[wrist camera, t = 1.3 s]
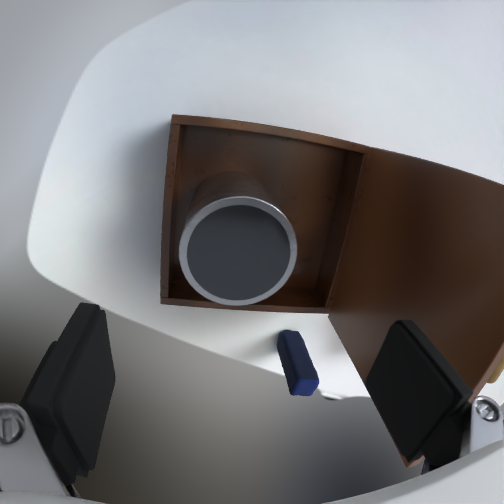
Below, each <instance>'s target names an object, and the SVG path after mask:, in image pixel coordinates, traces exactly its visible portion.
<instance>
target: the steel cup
mask: <svg viewBox="0 0 504 504" xmlns="http://www.w3.org/2000/svg"><path fill="white" fill-rule="evenodd" d="M297 253H298V245H297V238H296V235H295V231H294V229H293V227H292V225H291V223H290V222H289V220H288V219H287V217H286V216H285V215H284V213H283V212H282V211H281V209H280V208H279V207H278V205H277V204H276V203H275V202H274V200H273V199H272V198H271V196H270V195H269V194H268V192H267V191H266V190H265V189H264V187H263V186H262V185H261V184H260V183H259V182H258V181H257V180H256V179H254V178H253V177H251V176H249V175H247V174H244V173H241V172H234V171H228V172H222V173H218V174H215V175H213V176H211V177H209V178H208V179H206V180H205V181H204V182H203V183H202V184H201V185H200V186H199V187H198V188H197V190H196V191H195V193H194V195H193V197H192V200H191V204H190V207H189V211H188V214H187V218H186V222H185V225H184V229H183V233H182V237H181V240H180V246H179V259H180V265H181V268H182V271H183V273H184V275H185V277H186V279H187V281H188V282H189V284H190V285H191V286H192V287H193V288H194V289H195V290H196V291H197V292H198V293H199V294H201V295H202V296H204V297H205V298H207V299H209V300H211V301H214V302H217V303H220V304H224V305H231V306H241V305H249V304H253V303H256V302H259V301H262V300H264V299H266V298H268V297H269V296H271V295H273V294H274V293H275V292H277V291H278V290H279V289H280V288H281V287H282V286H283V285H284V284H285V283H286V281H287V280H288V279H289V277H290V275H291V274H292V271H293V269H294V267H295V263H296V260H297Z"/></svg>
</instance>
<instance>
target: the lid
mask: <svg viewBox="0 0 504 504" xmlns="http://www.w3.org/2000/svg"><path fill="white" fill-rule="evenodd" d="M328 318H329V320H330V322H331V324H332V325H333V327H334V329H335V331H336V333H337V335H338V336H339V338H340V340H341V342H342V344H343V346H344V347H345V349H346V351H347V353H348V355H349V357H350V358H351V360H352V362H353V364H354V366H355V368H356V370H357V372H358V373H359V375H360V377H361V379H362V381H363V383H364V385H365V381H366V378H367V376H368V374H369V372H370V370H371V368H372V366H373V363H374V361H375V359H376V357H377V355H378V353H379V351H380V349H381V346H382V344H383V342H384V340H385V337H386V335H387V333H388V330H389V328H390V326H391V325H392V324H394V322H395V321H396V320H408V319H409V320H412V321H413V322H414V323H415V324H416V325H417V326H418V327H419V328H420V329H421V330H422V332H423V333H424V334H425V335H426V336H427V337H428V338H429V340H430V341H431V342H432V343H433V344H434V345H435V347H436V348H437V349H438V350H439V351H440V352H441V354H442V355H443V356H444V357H445V358H446V359H447V361H448V362H449V363H450V364H451V365H452V367H453V368H454V369H455V370H456V371H457V373H458V374H459V375H460V376H461V378H462V379H463V380H464V381H465V382H466V384H467V385H468V386H469V387H470V389H471V390H472V391H473V395H472V396H471V397H470V399H469V400H468V401H469V402H470V403H471V402H472V401H473V399H474V398H475V397H476V396H477V395H478V394H479V392H480V391H481V390H482V388H483V387H484V385H485V384H486V383H494V382H495V381H496V380H497V379H498V377H499V376H500V374H501V372H502V371H503V369H504V185H502V184H500V183H497V182H494V181H492V180H489V179H486V178H483V177H480V176H477V175H474V174H471V173H468V172H465V171H462V170H459V169H456V168H452V167H449V166H446V165H442V164H439V163H435V162H432V161H428V160H424V159H421V158H417V157H413V156H409V155H405V154H401V153H397V152H392V151H388V150H384V149H379V148H374V147H371V151H370V157H369V162H368V167H367V172H366V176H365V181H364V186H363V190H362V195H361V199H360V203H359V208H358V212H357V216H356V220H355V224H354V228H353V232H352V236H351V240H350V244H349V247H348V251H347V255H346V258H345V262H344V266H343V269H342V273H341V276H340V279H339V283H338V286H337V290H336V293H335V296H334V299H333V303H332V306H331V309H330V312H329V315H328ZM365 387H366V385H365ZM375 406H376V405H375ZM376 408H377V407H376ZM377 410H378V409H377ZM378 412H379V411H378ZM379 414H380V413H379ZM380 416H381V415H380ZM381 418H382V417H381ZM383 422H384V421H383ZM384 423H385V422H384ZM385 426H386V424H385ZM386 428H387V426H386ZM387 429H388V428H387ZM388 432H389V430H388ZM389 433H390V432H389ZM390 435H391V434H390ZM391 437H392V436H391ZM392 439H393V438H392ZM393 441H394V440H393ZM394 443H395V442H394ZM395 445H396V444H395ZM396 448H397V449H398V447H397V445H396ZM398 452H399V454H400V456H401V458H402V460H403V462H404V464H405V466H406V468H410V467H412V466H415V465H418V464H419V463H420V461H422V460H423V459H424V458H425V457H424V455H423V456H422V457H421V458H420V459H418V460H415V461H412V462H410V463H408V462H407V460H406V458H405V456H402V455H401V453H400V451H399V449H398Z"/></svg>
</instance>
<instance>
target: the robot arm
mask: <svg viewBox="0 0 504 504" xmlns="http://www.w3.org/2000/svg"><path fill="white" fill-rule="evenodd" d="M114 385H115V371H114V366H113V360H112V354H111V348H110V342H109V335H108V328H107V321H106V313H105V311H104V310H100V307H99V305H97V304H89V303H80V304H79V305H78V307H77V309H76V310H75V312H74V314H73V315H72V317H71V318H70V320H69V322H68V324H67V325H66V327H65V329H64V330H63V332H62V334H61V336H60V337H59V339H58V341H54V342H52V344H51V345H50V347H49V348H48V350H47V352H46V354H45V355H44V357H43V359H42V361H41V363H40V365H39V366H38V368H37V370H36V372H35V374H34V376H33V378H32V380H31V382H30V384H29V386H28V388H27V390H26V392H25V394H24V396H23V398H22V400H21V402H20V404H19V406H18V405H16V404H12V403H1V404H0V504H106V503H100V502H94V501H89V500H84V499H81V497H80V495H79V494H78V492H77V491H76V489H75V487H74V486H73V483H75V480H76V475H78V476H82V477H86V478H87V476H88V471H89V470H93V469H94V468H95V464H96V459H97V455H98V449H99V445H100V441H101V436H102V432H103V428H104V424H105V419H106V415H107V411H108V407H109V404H110V400H111V396H112V392H113V389H114ZM365 385H366V389H367V391H368V392H369V394H370V396H371V398H372V400H373V402H374V404H375V405H376V407H377V409H378V411H379V413H380V415H381V417H382V419H383V421H384V422H385V424H386V426H387V428H388V430H389V432H390V434H391V436H392V438H393V440H394V442H395V444H396V445H397V447H398V449H399V451H400V453H401V455H402V456H405V458H406V460H407V462H408V463H410V462H412V461H415V460H418V459H420V458H421V457H422V456H423V455H424V457H425V461H424V465H423V469H422V473H421V475H420V476H418V477H416V478H412V479H410V480H407V481H404V482H401V483H398V484H395V485H393V486H389V487H386V488H383V489H380V490H377V491H374V492H370V493H366V494H363V495H359V496H355V497H351V498H347V499H343V500H338V501H333V502H328V503H323V504H504V420H503V414H502V410H501V408H500V406H499V405H498V404H497V403H496V402H495V401H494V400H492V399H491V398H489V397H486V396H477V397H475V398H474V399H473V401H472V402H471V403H470V402H469V401H468V400H469V399H470V397H471V396H472V395H473V391H472V390H471V389H470V387H469V386H468V385H467V384H466V382H465V381H464V380H463V379H462V378H461V376H460V375H459V374H458V373H457V371H456V370H455V369H454V368H453V367H452V365H451V364H450V363H449V362H448V361H447V359H446V358H445V357H444V356H443V355H442V354H441V352H440V351H439V350H438V349H437V348H436V347H435V345H434V344H433V343H432V342H431V341H430V340H429V338H428V337H427V336H426V335H425V334H424V333H423V332H422V330H421V329H420V328H419V327H418V326H417V325H416V324H415V323H414V322H413V321H412V320H409V319H408V320H396V321H395V322H394V324H392V325H391V326H390V328H389V330H388V333H387V335H386V337H385V340H384V342H383V344H382V346H381V349H380V351H379V353H378V355H377V357H376V359H375V361H374V363H373V366H372V368H371V370H370V372H369V374H368V376H367V378H366V381H365Z"/></svg>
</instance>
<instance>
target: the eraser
mask: <svg viewBox="0 0 504 504" xmlns="http://www.w3.org/2000/svg"><path fill="white" fill-rule="evenodd" d="M277 349H278V353H279V356H280V360H281V363H282V367H283V370H284V373H285V376H286V379H287V384H288V387H289V392H290V394H291V395H293V396H294V395H301V396H310V395H312V394H313V392H314V391H315V389H316V388H317V387H318V384H319V378H318V375H317V371H316V370H315V368H314V366H313V363H312V360H311V358H310V356H309V353H308V351H307V348H306V346H305V343H304V340H303V338H302V337H301V335H300V333H299V332H298V331H290V330H284V331H282V332H281V334H280V335H279V337H278V342H277Z"/></svg>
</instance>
